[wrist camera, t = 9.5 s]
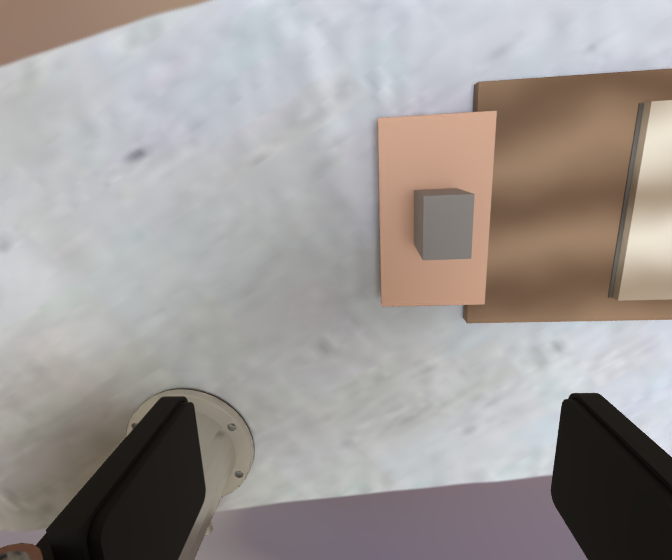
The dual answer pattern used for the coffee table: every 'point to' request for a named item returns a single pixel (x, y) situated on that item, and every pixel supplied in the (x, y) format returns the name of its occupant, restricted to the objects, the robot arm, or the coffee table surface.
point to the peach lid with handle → (435, 207)
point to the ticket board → (579, 198)
